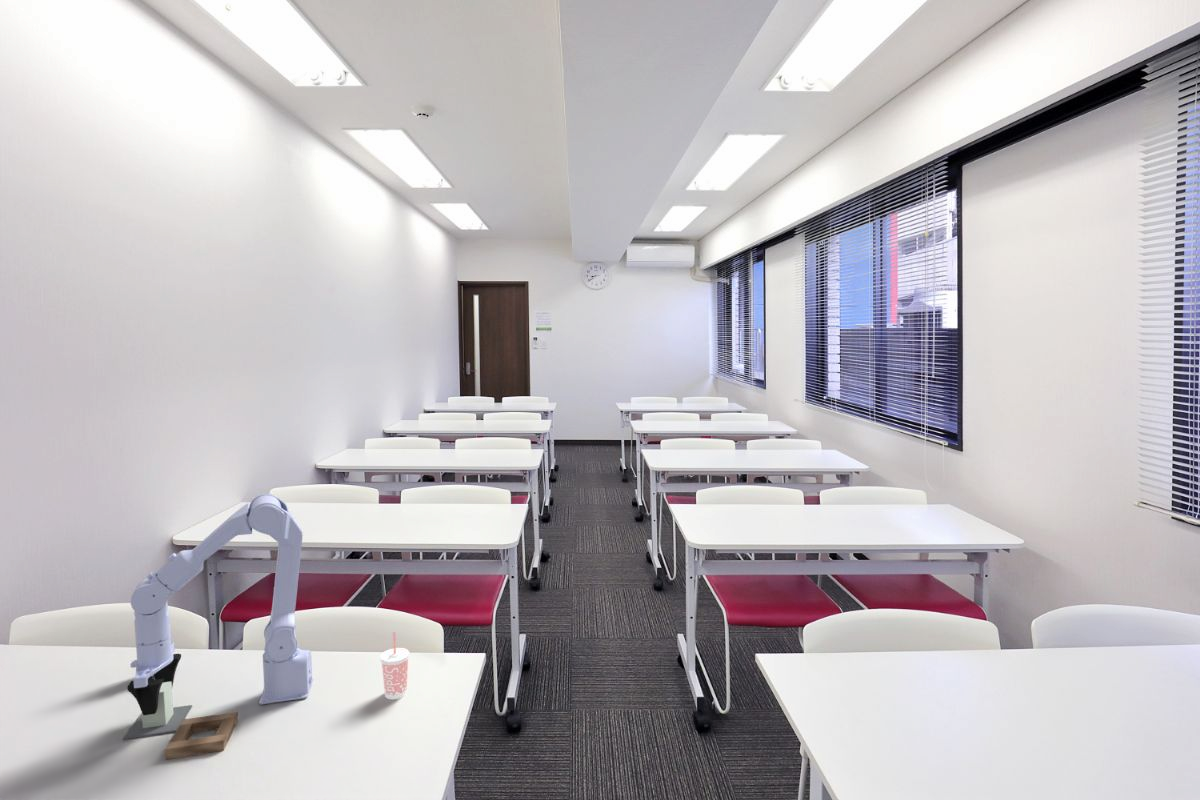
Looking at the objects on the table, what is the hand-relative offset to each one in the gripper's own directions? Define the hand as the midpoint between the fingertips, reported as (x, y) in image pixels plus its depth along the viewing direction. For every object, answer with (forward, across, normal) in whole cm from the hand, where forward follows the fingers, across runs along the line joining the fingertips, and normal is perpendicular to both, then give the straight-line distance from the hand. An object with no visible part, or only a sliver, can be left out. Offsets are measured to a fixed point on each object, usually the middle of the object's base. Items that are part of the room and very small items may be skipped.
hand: (157, 702), depth 126 cm
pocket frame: (+4, +8, +10) cm, 14 cm away
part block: (+4, 0, 0) cm, 4 cm away
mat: (+4, 0, 0) cm, 4 cm away
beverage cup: (+4, +2, +46) cm, 46 cm away
